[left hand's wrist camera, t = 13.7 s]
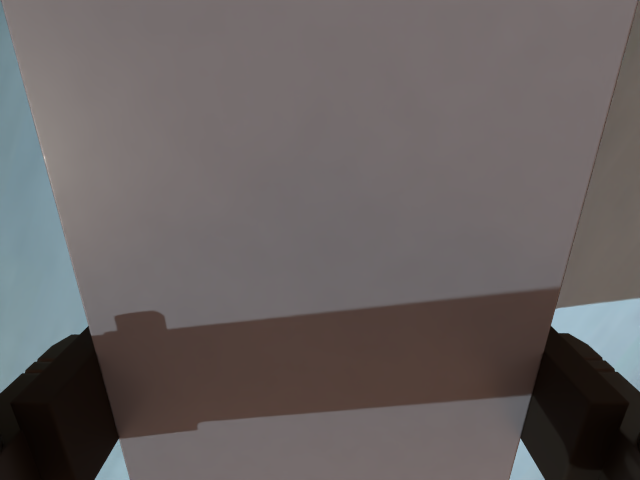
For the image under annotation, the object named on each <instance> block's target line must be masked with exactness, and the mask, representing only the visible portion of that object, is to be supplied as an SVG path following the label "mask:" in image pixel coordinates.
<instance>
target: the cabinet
mask: <svg viewBox="0 0 640 480" xmlns="http://www.w3.org/2000/svg"><path fill="white" fill-rule="evenodd" d="M638 1H639V0H1V2H2V6H3V9H4V13H5V17H6V20H7V24H8V28H9V32H10V35H11V39H12V43H13V46H14V50H15V54H16V58H17V61H18V65H19V69H20V72H21V76H22V80H23V84H24V87H25V91H26V95H27V99H28V102H29V106H30V110H31V113H32V117H33V121H34V125H35V128H36V132H37V136H38V139H39V143H40V147H41V151H42V154H43V158H44V162H45V165H46V169H47V173H48V177H49V180H50V184H51V188H52V191H53V195H54V199H55V203H56V206H57V210H58V214H59V218H60V221H61V225H62V229H63V232H64V236H65V240H66V244H67V247H68V251H69V255H70V258H71V262H72V266H73V270H74V273H75V277H76V281H77V284H78V288H79V292H80V296H81V299H82V303H83V307H84V311H85V314H86V318H87V322H88V325H89V329H90V333H91V337H92V340H93V344H94V348H95V351H96V355H97V359H98V363H99V366H100V370H101V374H102V377H103V381H104V385H105V389H106V392H107V396H108V400H109V403H110V407H111V411H112V415H113V418H114V422H115V426H116V430H117V433H118V437H119V441H120V444H121V448H122V452H123V456H124V459H125V463H126V467H127V470H128V474H129V478H130V480H509V478H510V475H511V471H512V467H513V463H514V460H515V456H516V452H517V449H518V445H519V441H520V438H521V434H522V430H523V426H524V423H525V419H526V415H527V412H528V408H529V404H530V401H531V397H532V393H533V389H534V386H535V382H536V378H537V375H538V371H539V367H540V364H541V360H542V356H543V352H544V349H545V345H546V341H547V338H548V334H549V330H550V327H551V323H552V319H553V315H554V312H555V308H556V304H557V301H558V297H559V293H560V289H561V286H562V282H563V278H564V275H565V271H566V267H567V264H568V260H569V256H570V252H571V249H572V245H573V241H574V238H575V234H576V230H577V227H578V223H579V219H580V215H581V212H582V208H583V204H584V201H585V197H586V193H587V190H588V186H589V182H590V178H591V175H592V171H593V167H594V164H595V160H596V156H597V153H598V149H599V145H600V141H601V138H602V134H603V130H604V127H605V123H606V119H607V116H608V112H609V108H610V104H611V101H612V97H613V93H614V90H615V86H616V82H617V79H618V75H619V71H620V67H621V64H622V60H623V56H624V53H625V49H626V45H627V42H628V38H629V34H630V30H631V27H632V23H633V19H634V16H635V12H636V8H637V4H638Z"/></svg>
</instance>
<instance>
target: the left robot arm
mask: <svg viewBox="0 0 640 480" xmlns="http://www.w3.org/2000/svg"><path fill="white" fill-rule="evenodd" d="M118 439H119V437H118V433H117V430H116V426H115V422H114V418H113V415H112V411H111V407H110V403H109V400H108V396H107V392H106V389H105V385H104V381H103V377H102V374H101V370H100V366H99V363H98V359H97V355H96V351H95V348H94V344H93V340H92V337H91V333H90V329H89V326H88V327H87V328H86V329H85V330H84V331H83V332H82V333H81V334H80V335H70V336H68V337H67V338H65V339H63V340H61V341H60V342H58V343H56V344H55V345H53V346H51V347H50V348H49V349H48V350H47V351H46V352H45V353H44V354H43V355H42V356H41V357H39V358H38V361H37V362H34V363H33V364H32V365H31V366H30V367H29V368H28V369H26V370H25V373H22V374H21V375H20V376H19V377H18V378H17V379H16V380H14V381H13V382H12V383H11V384H10V385H9V386H8V387H7V388H6V389H5V390H4V391H3V392H1V393H0V480H95V478H96V476H97V474H98V473H99V471H100V469H101V468H102V466H103V464H104V463H105V461H106V459H107V458H108V456H109V454H110V453H111V451H112V449H113V447H114V446H115V444H116V442H117V441H118ZM521 440H522V441H523V443H524V445H525V446H526V448H527V450H528V452H529V453H530V455H531V457H532V458H533V460H534V462H535V463H536V465H537V467H538V468H539V470H540V472H541V473H542V475H543V477H544V479H545V480H640V392H639V391H638V390H637V389H636V388H635V387H634V386H633V385H631V384H630V383H629V382H628V381H627V380H626V379H625V378H624V377H623V376H622V375H621V374H619V373H618V372H615V369H614V368H613V367H612V366H611V365H610V364H609V363H607V362H606V361H603V360H602V357H601V356H600V355H599V354H598V353H596V352H595V351H594V350H593V349H592V348H591V347H590V346H589V345H588V344H586V343H584V342H582V341H581V340H579V339H577V338H576V337H574V336H572V335H570V334H569V333H558V332H557V331H556V330H555V329H554V328H553V327H552V326H551V327H550V330H549V334H548V338H547V341H546V345H545V349H544V352H543V356H542V360H541V364H540V367H539V371H538V375H537V378H536V382H535V386H534V389H533V393H532V397H531V401H530V404H529V408H528V412H527V415H526V419H525V423H524V426H523V430H522V434H521Z"/></svg>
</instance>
